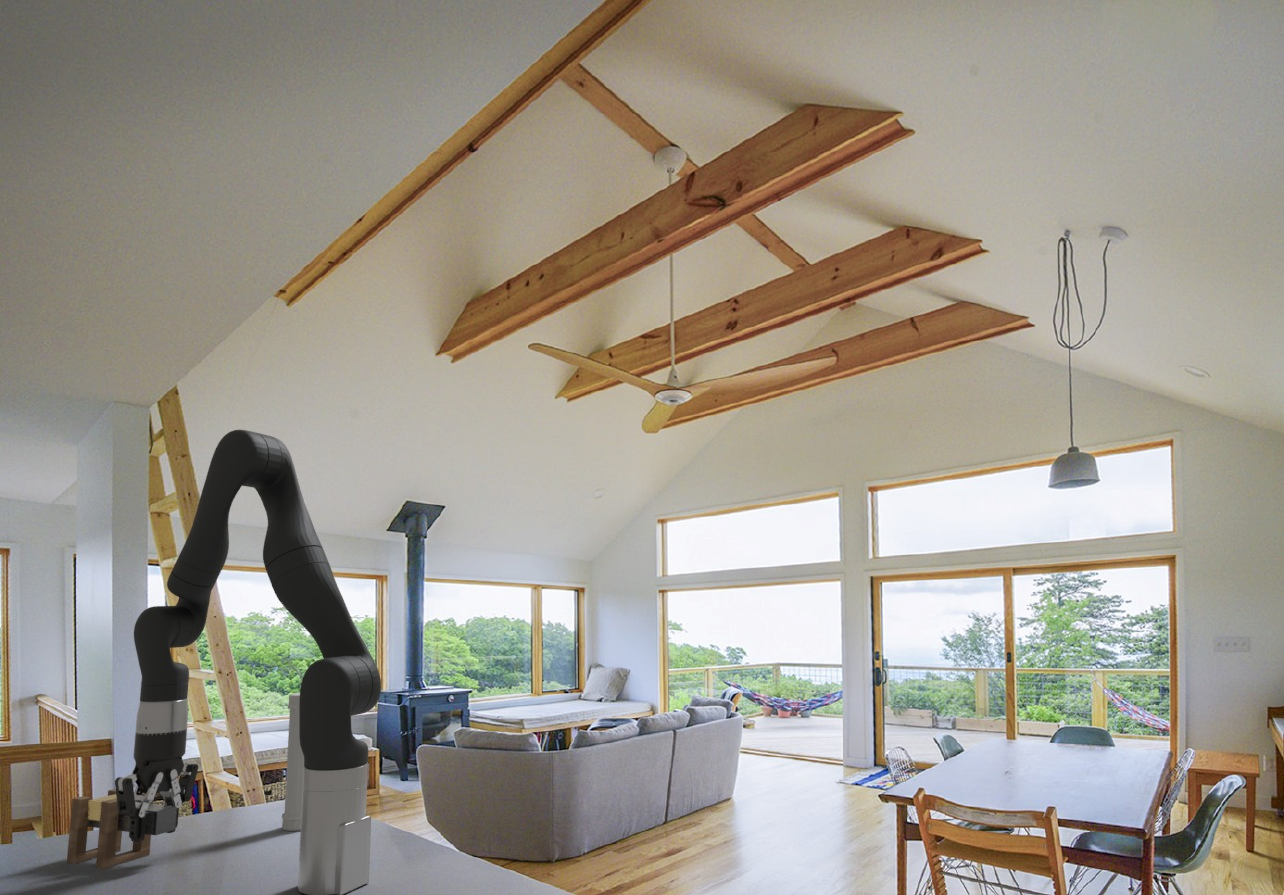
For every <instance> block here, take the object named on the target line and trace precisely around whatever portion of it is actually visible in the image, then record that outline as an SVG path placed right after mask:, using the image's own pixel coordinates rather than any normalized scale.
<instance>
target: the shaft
mask: <svg viewBox="0 0 1284 895" xmlns="http://www.w3.org/2000/svg"><path fill="white" fill-rule="evenodd" d="M140 805H141V804H140ZM139 807H140V806H139ZM176 812H177V807H176V806H168V805H165V804H157V803H153V804H149V806H148V809H147V812H146V814H145V816H144V817H146V825H145V834H148V835H151V836H159V835H162V834H167V833H166V832H169V831H173V830H175V826H176ZM99 826H100V821H97V820H88V828H95V829H96V828H97V829H99ZM129 829H130V817H129V816H127V815H120V814H119V817H118V829H117V830H118V831H122V832H125V833H129ZM175 831H176V830H175Z"/></svg>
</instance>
